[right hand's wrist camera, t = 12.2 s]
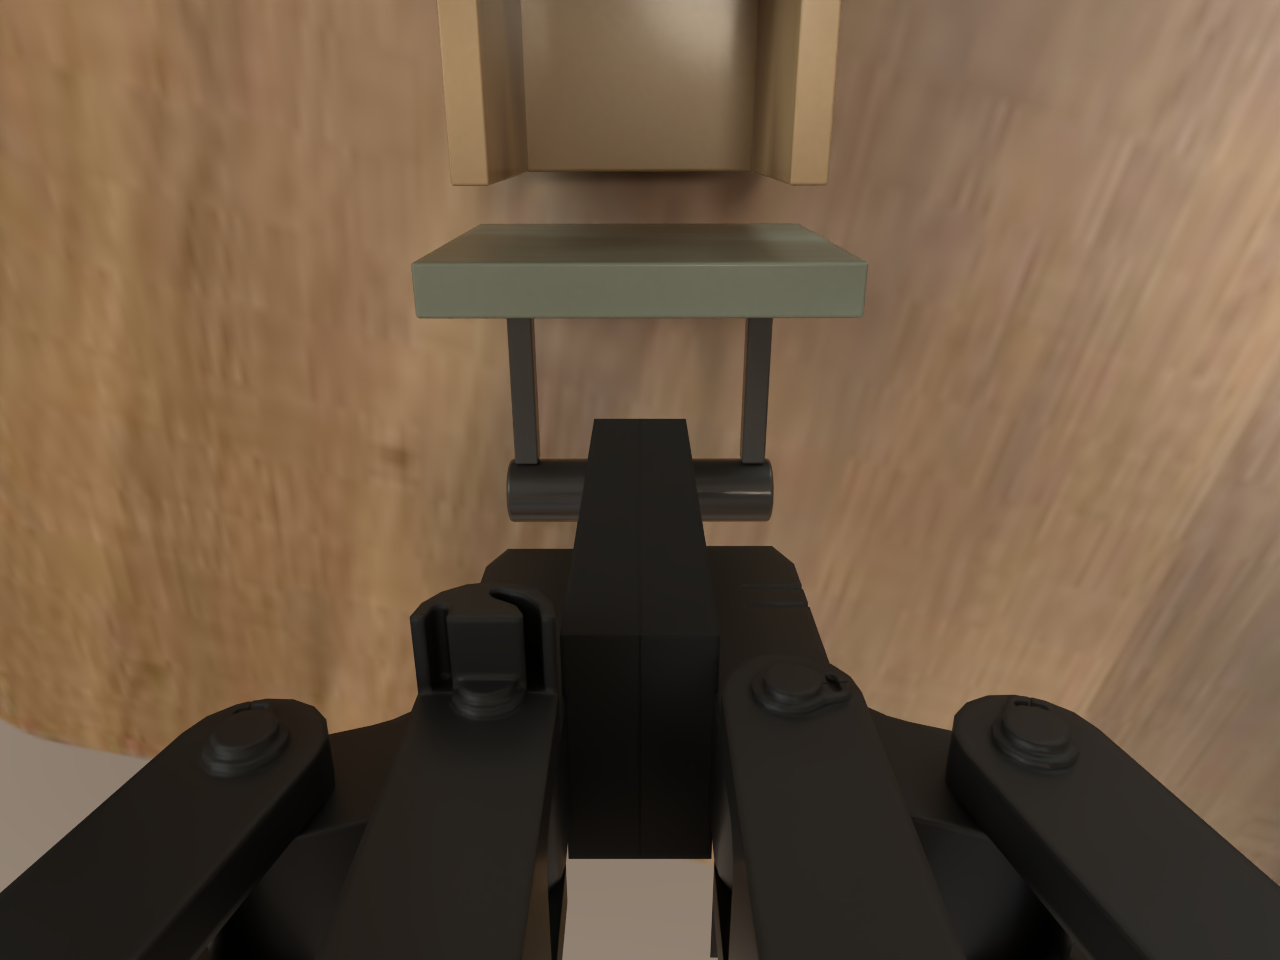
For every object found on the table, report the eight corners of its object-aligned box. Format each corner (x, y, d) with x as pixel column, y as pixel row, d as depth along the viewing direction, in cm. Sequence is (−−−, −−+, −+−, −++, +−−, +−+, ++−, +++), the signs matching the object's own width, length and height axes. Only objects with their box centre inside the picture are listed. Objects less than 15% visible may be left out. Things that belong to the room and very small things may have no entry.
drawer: (786, 445, 29) (840, 561, 21) (494, 445, 29) (439, 562, 21) (845, -462, 20) (974, -832, 13) (431, -460, 20) (301, -831, 13)
